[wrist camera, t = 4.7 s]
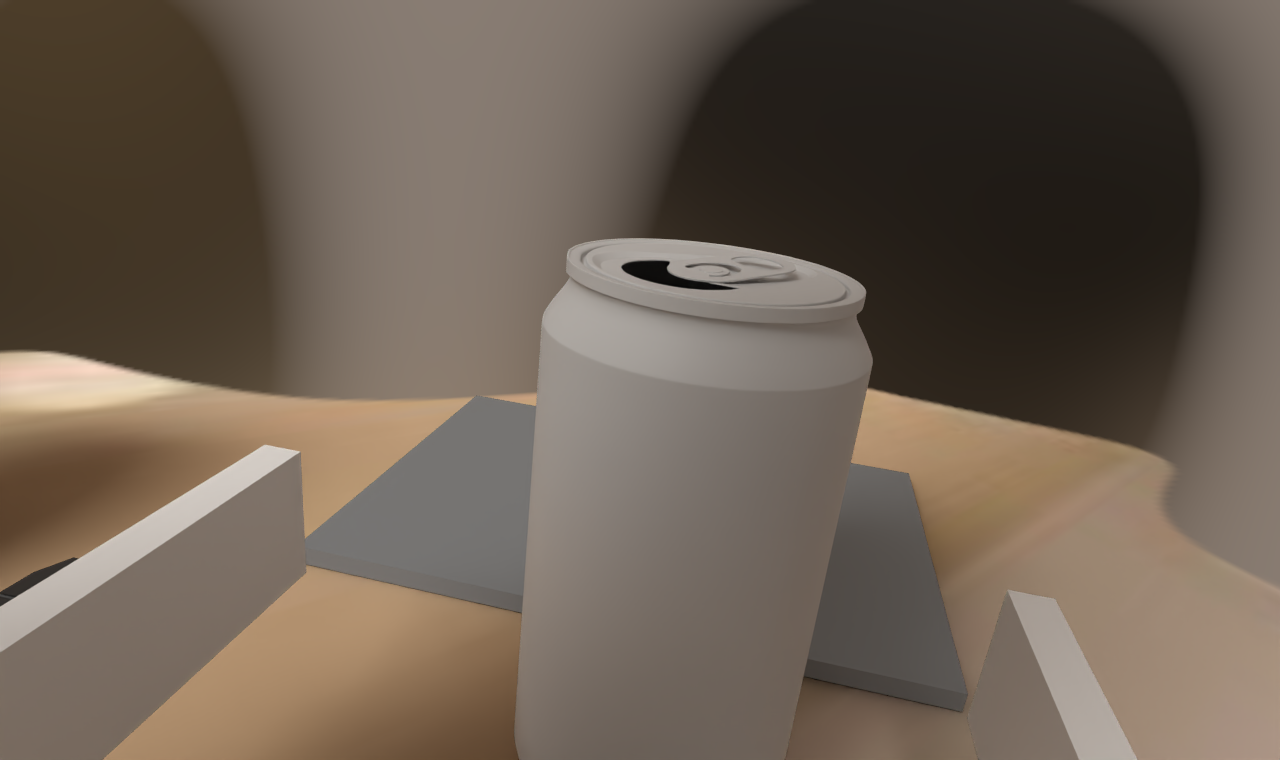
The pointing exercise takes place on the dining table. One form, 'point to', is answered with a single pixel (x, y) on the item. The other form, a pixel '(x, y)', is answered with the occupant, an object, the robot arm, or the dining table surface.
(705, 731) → the beverage can
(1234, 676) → the dining table surface
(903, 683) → the mat
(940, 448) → the dining table surface
